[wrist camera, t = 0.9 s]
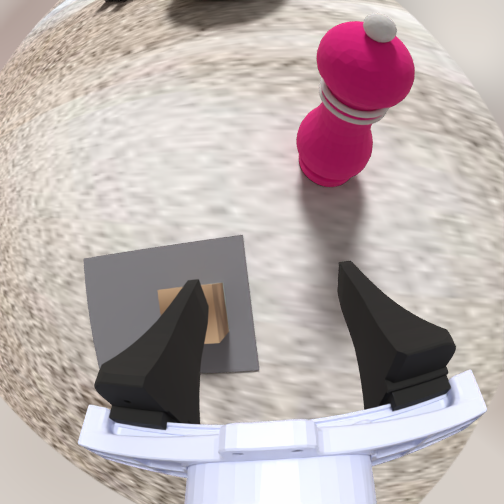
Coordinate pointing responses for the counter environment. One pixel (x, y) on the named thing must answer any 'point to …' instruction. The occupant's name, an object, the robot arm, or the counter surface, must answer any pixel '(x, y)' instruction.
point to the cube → (217, 309)
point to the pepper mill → (352, 97)
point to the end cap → (115, 0)
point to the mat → (164, 277)
